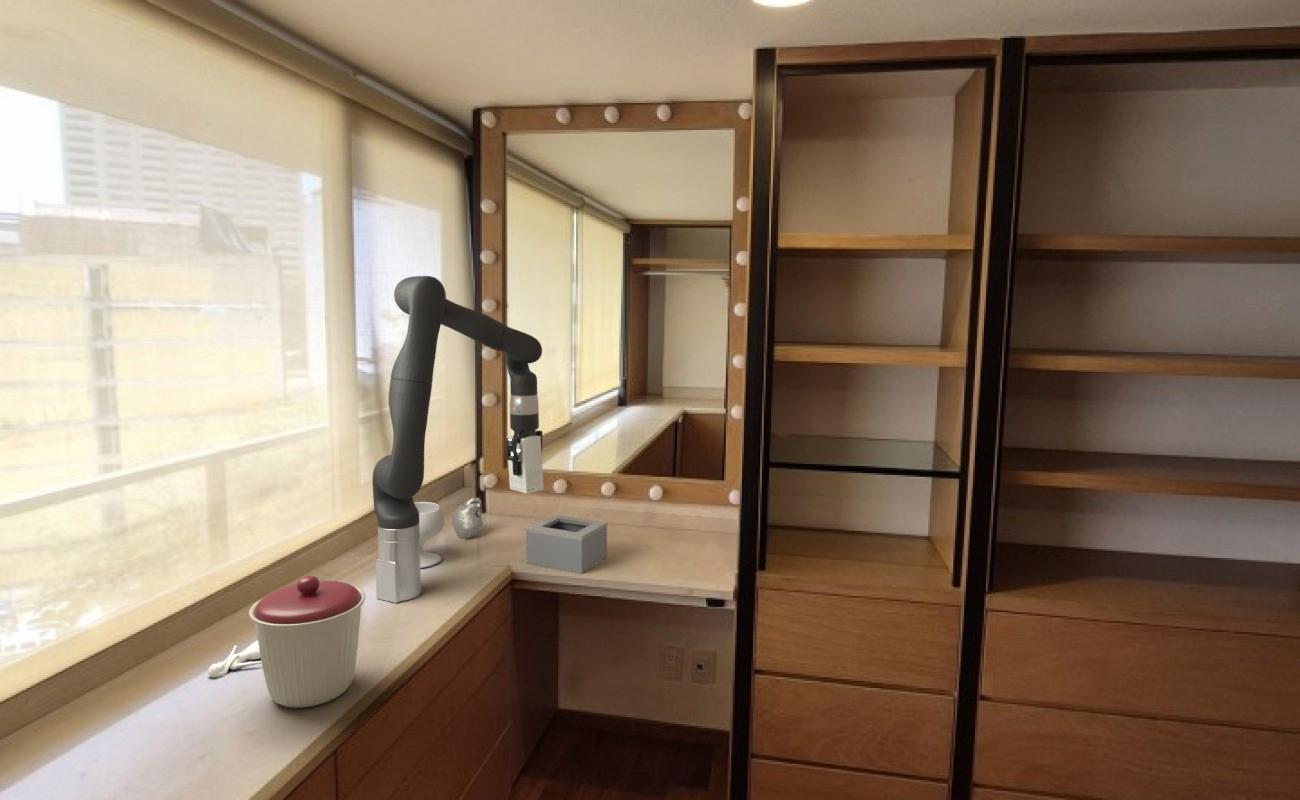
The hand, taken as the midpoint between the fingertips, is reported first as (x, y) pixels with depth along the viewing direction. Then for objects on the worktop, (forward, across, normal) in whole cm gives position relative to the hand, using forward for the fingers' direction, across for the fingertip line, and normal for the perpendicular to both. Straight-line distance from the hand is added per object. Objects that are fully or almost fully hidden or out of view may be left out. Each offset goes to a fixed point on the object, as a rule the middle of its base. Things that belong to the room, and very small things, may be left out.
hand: (525, 472), depth 190 cm
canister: (+24, -74, -4) cm, 77 cm away
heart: (+25, +10, +28) cm, 39 cm away
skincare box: (+5, 0, 0) cm, 5 cm away
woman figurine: (+24, -69, +16) cm, 75 cm away
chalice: (+24, -14, +25) cm, 38 cm away
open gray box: (+25, +4, -10) cm, 27 cm away
